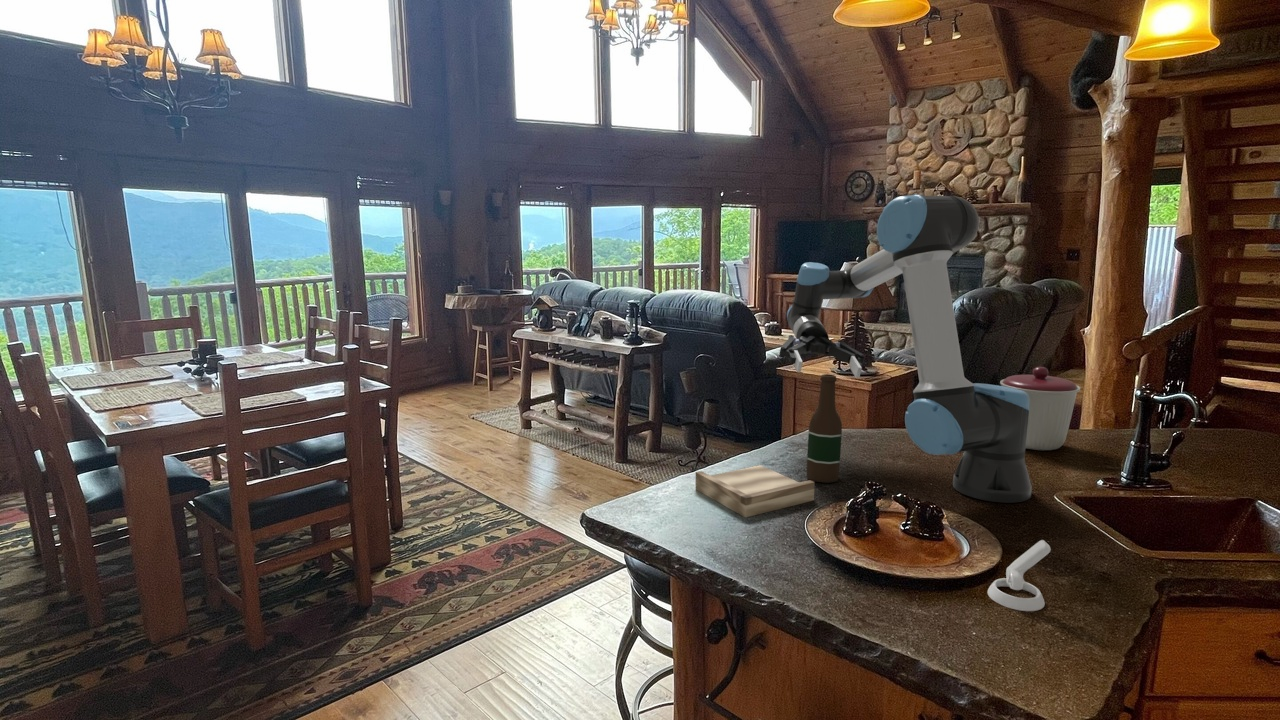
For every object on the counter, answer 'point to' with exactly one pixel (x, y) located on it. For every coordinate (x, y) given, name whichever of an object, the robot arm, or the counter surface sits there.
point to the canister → (1046, 407)
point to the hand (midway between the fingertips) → (829, 370)
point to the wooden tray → (754, 490)
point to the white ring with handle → (1021, 581)
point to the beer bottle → (825, 436)
